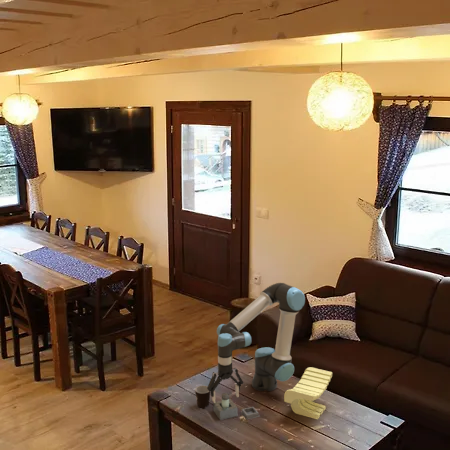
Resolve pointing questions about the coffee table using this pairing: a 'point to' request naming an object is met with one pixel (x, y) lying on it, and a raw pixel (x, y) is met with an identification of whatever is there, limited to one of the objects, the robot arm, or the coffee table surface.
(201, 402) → the coffee mug
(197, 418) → the coffee table surface
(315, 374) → the slatted curved stool
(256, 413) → the grey square open tray
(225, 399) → the plug
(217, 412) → the port block
